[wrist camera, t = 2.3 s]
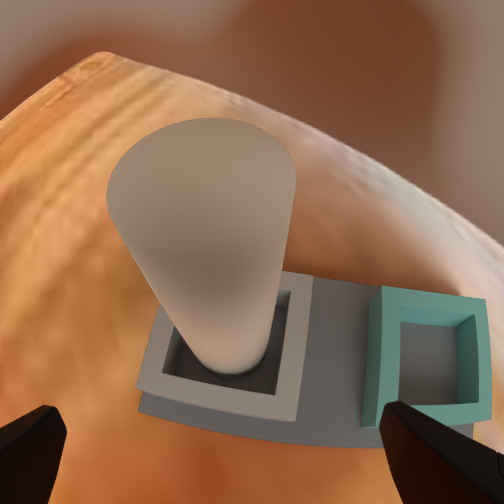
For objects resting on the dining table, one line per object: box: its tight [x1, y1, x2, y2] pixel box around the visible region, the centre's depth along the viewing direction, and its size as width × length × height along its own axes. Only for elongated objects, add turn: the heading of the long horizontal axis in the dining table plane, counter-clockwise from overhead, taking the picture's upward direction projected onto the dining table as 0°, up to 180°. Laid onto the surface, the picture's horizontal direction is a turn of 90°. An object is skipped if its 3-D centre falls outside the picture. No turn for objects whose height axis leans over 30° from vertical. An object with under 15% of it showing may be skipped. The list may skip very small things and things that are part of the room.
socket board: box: [136, 271, 492, 448], centre depth 18 cm, size 22×11×4 cm, turn 80°
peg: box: [106, 118, 296, 379], centre depth 13 cm, size 4×4×14 cm
